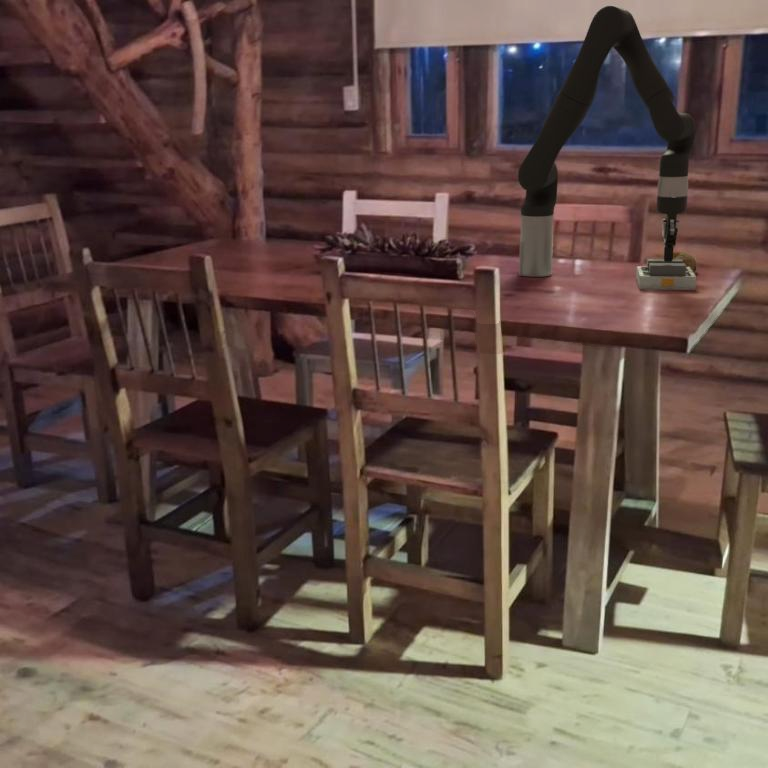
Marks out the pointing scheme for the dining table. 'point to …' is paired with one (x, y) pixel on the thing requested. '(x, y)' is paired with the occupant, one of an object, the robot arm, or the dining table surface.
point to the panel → (667, 269)
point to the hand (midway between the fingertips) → (668, 260)
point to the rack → (665, 278)
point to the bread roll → (686, 259)
